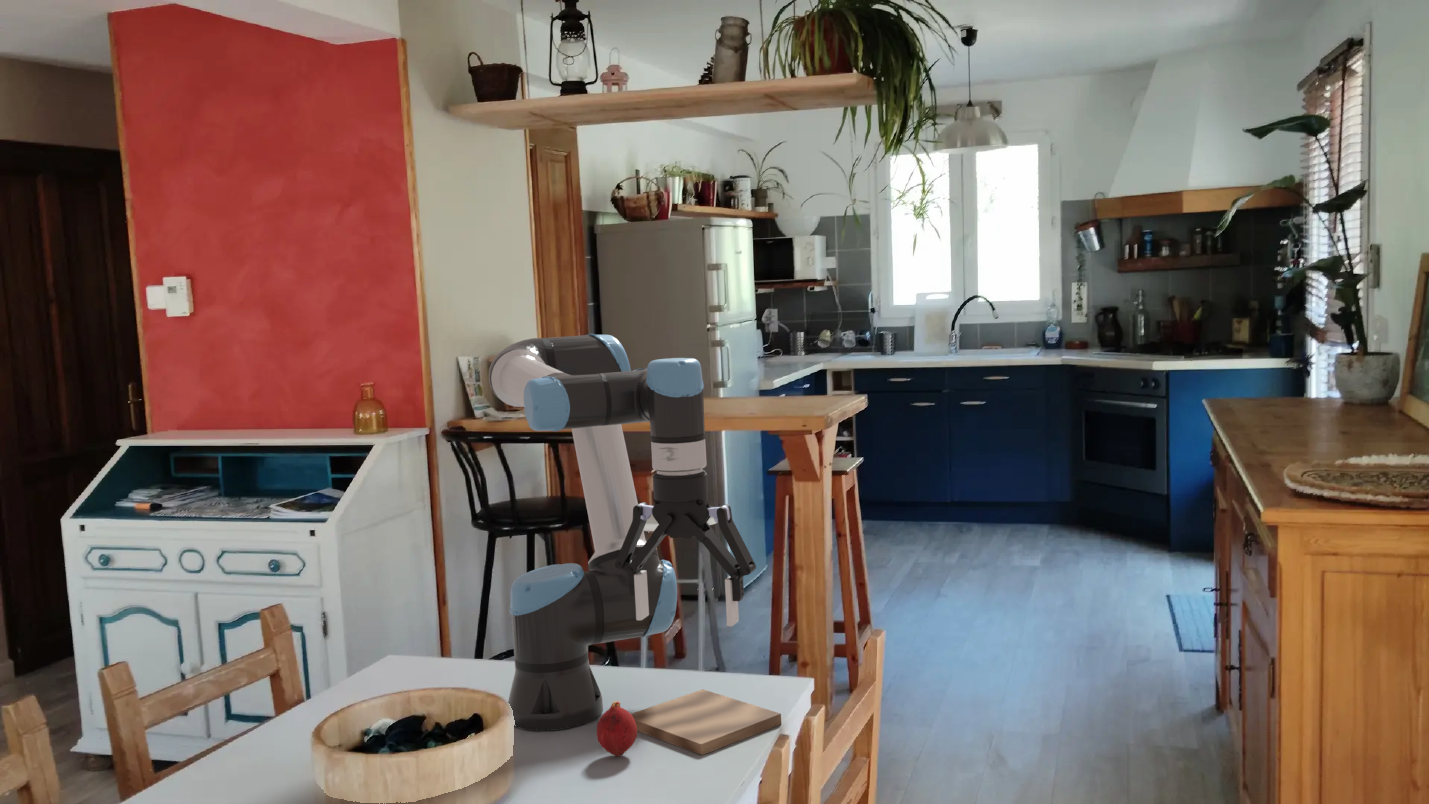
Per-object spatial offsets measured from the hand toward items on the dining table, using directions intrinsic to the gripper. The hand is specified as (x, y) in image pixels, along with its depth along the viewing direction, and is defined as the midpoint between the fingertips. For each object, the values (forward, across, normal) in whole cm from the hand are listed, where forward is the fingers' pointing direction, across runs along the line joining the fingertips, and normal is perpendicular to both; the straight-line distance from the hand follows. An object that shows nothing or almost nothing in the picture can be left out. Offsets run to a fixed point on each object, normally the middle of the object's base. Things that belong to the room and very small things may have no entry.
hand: (687, 620), depth 162 cm
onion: (+20, -11, -2) cm, 23 cm away
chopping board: (+20, -3, +12) cm, 24 cm away
